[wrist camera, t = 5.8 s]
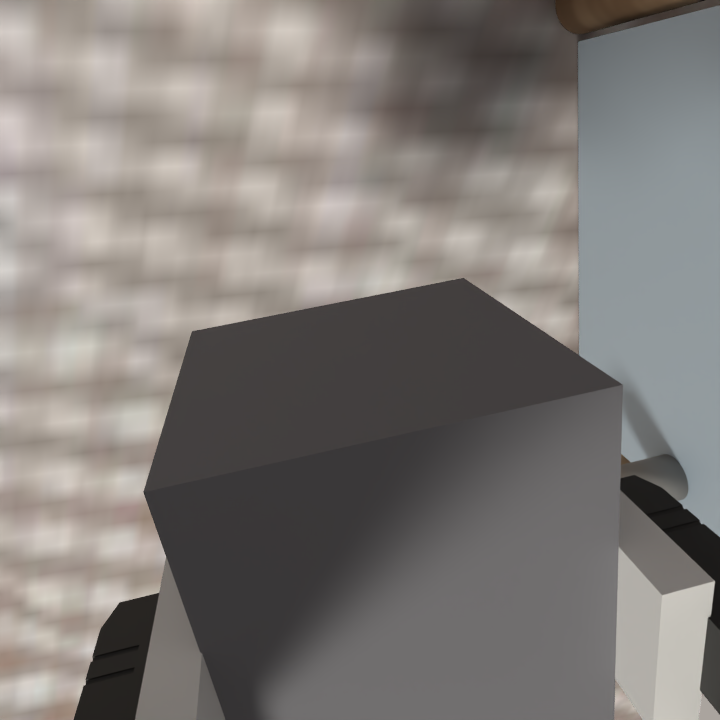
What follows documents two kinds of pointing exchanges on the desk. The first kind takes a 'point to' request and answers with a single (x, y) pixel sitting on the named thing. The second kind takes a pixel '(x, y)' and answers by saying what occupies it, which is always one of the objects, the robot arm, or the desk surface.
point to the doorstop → (395, 512)
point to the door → (655, 245)
